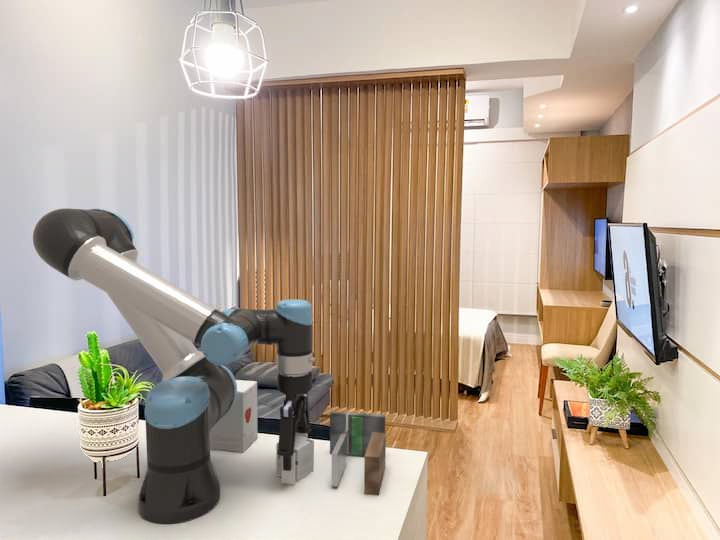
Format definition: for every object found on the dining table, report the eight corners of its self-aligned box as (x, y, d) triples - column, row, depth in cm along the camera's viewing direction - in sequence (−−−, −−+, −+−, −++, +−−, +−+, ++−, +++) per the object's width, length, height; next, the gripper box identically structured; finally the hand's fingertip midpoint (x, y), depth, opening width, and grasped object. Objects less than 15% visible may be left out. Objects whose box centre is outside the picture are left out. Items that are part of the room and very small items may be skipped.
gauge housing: (313, 489, 106) (312, 442, 106) (331, 451, 124) (331, 411, 123) (378, 495, 104) (379, 447, 103) (387, 456, 122) (388, 415, 121)
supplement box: (243, 453, 123) (243, 392, 121) (209, 449, 124) (207, 389, 123) (258, 437, 132) (258, 380, 130) (226, 434, 133) (225, 378, 132)
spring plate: (331, 486, 107) (331, 439, 106) (344, 453, 122) (345, 412, 121) (337, 486, 107) (337, 440, 106) (349, 454, 121) (350, 413, 120)
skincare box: (275, 475, 112) (275, 443, 111) (292, 464, 117) (292, 433, 117) (298, 483, 109) (297, 449, 108) (314, 471, 114) (314, 439, 114)
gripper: (297, 389, 100) (298, 499, 102) (323, 359, 121) (323, 450, 123) (260, 387, 101) (261, 496, 103) (292, 357, 122) (293, 448, 125)
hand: (295, 471), depth 113 cm, fingers open, 9 cm apart
